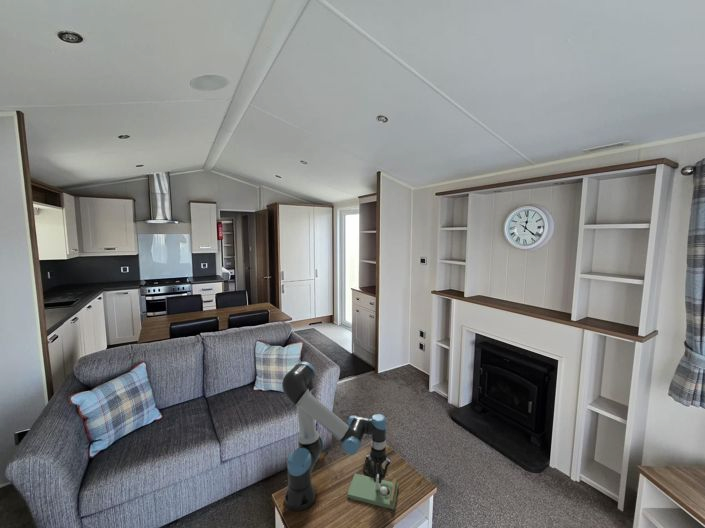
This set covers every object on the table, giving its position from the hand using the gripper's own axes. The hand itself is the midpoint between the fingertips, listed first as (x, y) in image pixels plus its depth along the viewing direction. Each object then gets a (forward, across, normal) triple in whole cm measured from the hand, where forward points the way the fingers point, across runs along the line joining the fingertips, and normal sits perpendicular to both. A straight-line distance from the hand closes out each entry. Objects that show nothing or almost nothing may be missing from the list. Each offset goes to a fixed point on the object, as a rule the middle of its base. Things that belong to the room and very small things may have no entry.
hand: (377, 487), depth 162 cm
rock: (+4, -5, +14) cm, 15 cm away
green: (+3, -2, 0) cm, 4 cm away
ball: (+1, +3, 0) cm, 3 cm away
